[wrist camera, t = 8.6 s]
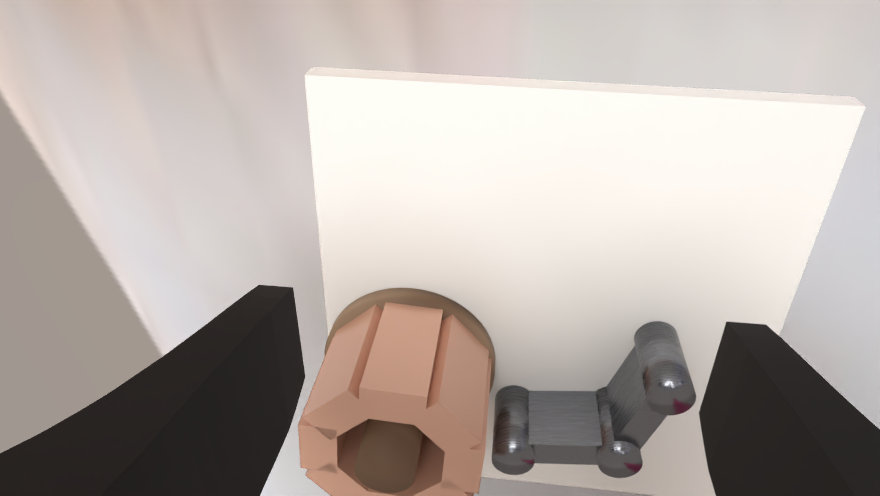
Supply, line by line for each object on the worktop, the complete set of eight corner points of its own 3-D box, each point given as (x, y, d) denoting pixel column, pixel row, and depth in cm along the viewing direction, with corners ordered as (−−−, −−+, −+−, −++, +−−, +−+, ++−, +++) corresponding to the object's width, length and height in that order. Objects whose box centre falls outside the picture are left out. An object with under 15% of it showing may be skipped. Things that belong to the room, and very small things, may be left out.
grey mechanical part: (681, 322, 21) (700, 383, 19) (653, 427, 24) (667, 491, 21) (503, 308, 22) (500, 364, 19) (494, 411, 24) (490, 472, 22)
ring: (497, 316, 21) (492, 405, 18) (480, 434, 24) (472, 530, 21) (332, 295, 22) (295, 379, 18) (334, 413, 24) (302, 505, 21)
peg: (501, 295, 21) (494, 408, 17) (490, 424, 25) (482, 547, 20) (323, 280, 22) (273, 386, 18) (334, 408, 25) (294, 525, 21)
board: (852, 96, 18) (865, 106, 17) (711, 485, 26) (716, 502, 25) (312, 66, 19) (304, 75, 18) (343, 446, 27) (339, 461, 27)
